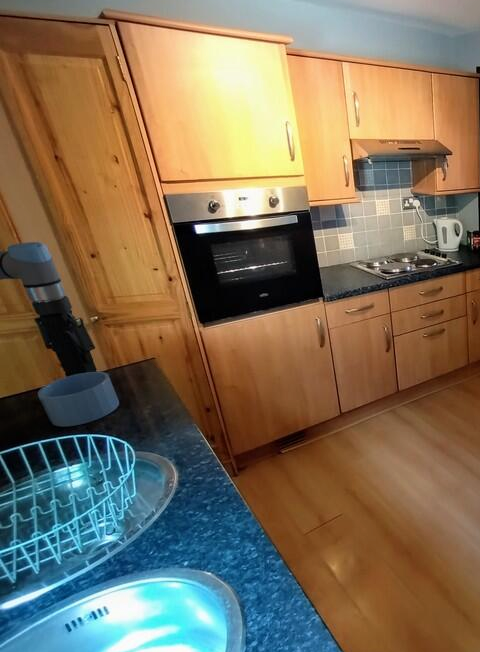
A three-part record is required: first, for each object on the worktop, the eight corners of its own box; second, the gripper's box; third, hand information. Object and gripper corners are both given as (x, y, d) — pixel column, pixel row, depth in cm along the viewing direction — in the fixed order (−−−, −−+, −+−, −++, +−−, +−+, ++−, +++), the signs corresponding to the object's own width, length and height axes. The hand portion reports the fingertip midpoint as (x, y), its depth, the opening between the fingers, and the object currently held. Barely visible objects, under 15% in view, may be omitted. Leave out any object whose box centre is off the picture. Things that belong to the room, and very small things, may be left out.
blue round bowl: (36, 423, 123) (22, 395, 119) (90, 396, 136) (79, 369, 132) (82, 429, 120) (68, 400, 117) (132, 400, 134) (121, 373, 130)
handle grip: (115, 388, 140) (104, 379, 145) (82, 308, 129) (72, 302, 134) (72, 402, 132) (63, 392, 138) (34, 319, 122) (25, 311, 127)
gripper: (92, 296, 129) (120, 367, 138) (35, 292, 131) (66, 362, 141) (64, 304, 122) (96, 379, 131) (4, 300, 125) (39, 373, 134)
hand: (80, 370), depth 136 cm, fingers closed on handle grip, 7 cm apart
